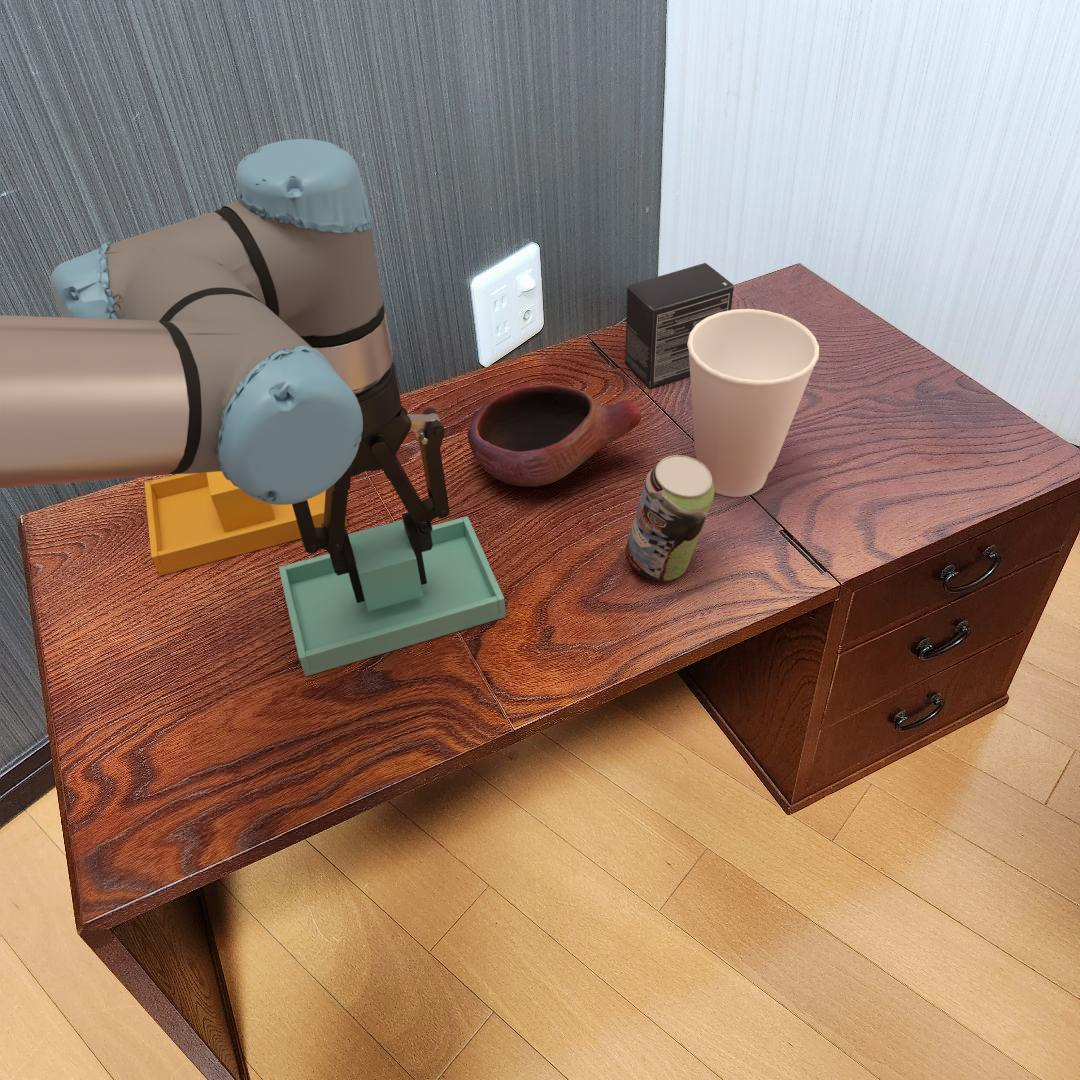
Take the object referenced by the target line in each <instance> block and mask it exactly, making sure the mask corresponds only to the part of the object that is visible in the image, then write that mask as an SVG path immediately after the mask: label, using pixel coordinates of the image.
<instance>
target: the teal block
mask: <svg viewBox="0 0 1080 1080" xmlns="http://www.w3.org/2000/svg"><path fill="white" fill-rule="evenodd" d="M348 536H349V540H350V543H351V546H352V550H353V553H354V557H355V561H356V568H357V572H358V576H359V580H360V584H361V588H362V592H363V596H364V600H365V603H366V607H367V610H368V612H369V611H373V610H376V609H380V608H383V607H387V606H390V605H394V604H397V603H401V602H404V601H408V600H411V599H415V598H418V597H422V596H423V593H422V588H421V582H420V576H419V571H418V565H417V560H416V556H415V553H414V551H413V549H412V547H411V544H410V541H409V539H408V536H407V533H406V531H405V527H404V522H403V519H400V520H397V521H393V522H388V523H386V524H381V525H377V526H374V527H370V528H366V529H363V530H359V531H355V532H352V533H351V532H350V533H348Z"/></svg>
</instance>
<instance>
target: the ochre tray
mask: <svg viewBox="0 0 1080 1080" xmlns="http://www.w3.org/2000/svg"><path fill="white" fill-rule="evenodd" d="M143 483H144V494H145V495H144V496H145V504H146V517H147V527H148V536H149V537H148V538H149V547H150V549H149V550H150V558H151V560H152V563H153V564H154V566H155V568H156V570H157V572H158V574H159V576H164V575H169V574H172V573H176V572H180V571H183V570H187V569H191V568H195V567H199V566H202V565H206V564H207V565H208V564H210V563H214V562H219V561H221V560H225V559H229V558H232V557H237V556H241V555H244V554H248V553H252V552H256V551H259V550H263V549H266V548H270V547H274V546H279V545H282V544H286V543H289V542H293V541H298V540H300V539H301V540H302V538H301V534H300V531H299V527H298V524H297V520H296V517H295V513H294V510H293V506H292V504H288V505H274V504H272V507H273V511H274V515H275V519H273V520H269V521H265V522H262V523H258V524H254V525H250V526H246V527H243V528H239V529H235V530H231V531H228V532H224V529H223V527H222V524H221V521H220V519H219V516H218V514H217V511H216V509H215V506H214V503H213V501H212V498H211V496H210V490H209V485H208V479H207V474H206V472H204V473H192V474H172V475H170V476H164V477H161V478H157V479H152V480H150V481H149V480H148V481H145V482H143ZM325 494H326V490H325V491H324V492H322V493H321V494H319V495H316V496H314V497H312V498H310V499H308V500H307V501H308V505H309V508H310V512H311V516H312V520H313V523H314V527H322V525H321V523H323V521H324V507H325ZM347 520H348V519H347V518H346V519H345V528H346V527H348V525H349V524H348V521H347Z"/></svg>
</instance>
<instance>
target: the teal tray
mask: <svg viewBox="0 0 1080 1080" xmlns="http://www.w3.org/2000/svg"><path fill="white" fill-rule="evenodd" d="M431 526H432V531H431V537H432V543H433V546H432V549H431V550H428V551H425V552H422V556H423V562H424V568H425V574H426V579H427V584H423V585H421V588H422V593H423V596H422V597H418V598H415V599H411V600H408V601H404V602H401V603H397V604H394V605H390V606H387V607H383V608H380V609H376V610H373V611H369V612H368V610H367V607H366V603H365V601H363V602H360V603H357V601H356V598H355V595H354V591H353V588H352V584H351V581H350V577H349V573H346V574H342V575H339V576H338V575H337V574H336V573H335V572H334V569H333V565H332V561H331V558H330V554H329V553H326V554H321V555H319V556H315V557H311V558H306V559H304V560H300V561H295V562H292V563H288V564H286V565H285V564H284V565H282V566H278V571H279V576H280V581H281V584H282V589H283V593H284V598H285V603H286V607H287V612H288V617H289V621H290V625H291V630H292V633H293V639H294V642H295V647H296V648H295V649H296V652H297V657H298V660H299V663H300V666H301V668H302V672H303V674H304V676H305V677H309V676H312V675H315V674H318V673H322V672H326V671H329V670H333V669H336V668H339V667H342V666H347V665H349V664H353V663H355V662H359V661H362V660H367V659H369V658H373V657H376V656H379V655H383V654H386V653H389V652H393V651H396V650H399V649H402V648H403V649H404V648H406V647H409V646H414V645H417V644H420V643H423V642H426V641H430V640H433V639H436V638H440V637H443V636H447V635H450V634H454V633H457V632H460V631H464V630H467V629H470V628H473V627H477V626H480V625H484V624H486V623H490V622H494V621H497V620H501V619H504V618H506V617H507V615H506V603H505V602H506V601H505V597H504V594H503V592H502V589H501V588H500V585H499V583H498V581H497V579H496V576H495V574H494V572H493V569H492V567H491V565H490V563H489V561H488V558H487V556H486V554H485V552H484V550H483V547H482V545H481V543H480V540H479V538H478V536H477V534H476V531H475V529H474V527H473V525H472V522H471V520H470V518H469V516H463V517H459V518H455V519H452V520H448V521H444V522H441V523H438V524H433V525H431Z"/></svg>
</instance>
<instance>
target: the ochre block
mask: <svg viewBox="0 0 1080 1080" xmlns="http://www.w3.org/2000/svg"><path fill="white" fill-rule="evenodd" d="M206 474H207V479H208V485H209V490H210V496H211V498H212V501H213V503H214V506H215V509H216V511H217V514H218V516H219V519H220V521H221V524H222V527H223V529H224V532H228V531H231V530H235V529H239V528H243V527H246V526H250V525H254V524H258V523H262V522H265V521H269V520H273V519H275V515H274V511H273V507H272V504H270V503H268V502H263V501H260V500H257V499H255V498H253V497H251V496H249V495H248V494H246V493H245V492H243V491H242V490H241V489H240V488H238V487H236V486H234V485H233V484H232V482H231V481H230V480H227V479H226V478H225V477H224V475H223V473H222V472H221V471H217V472H206Z"/></svg>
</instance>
